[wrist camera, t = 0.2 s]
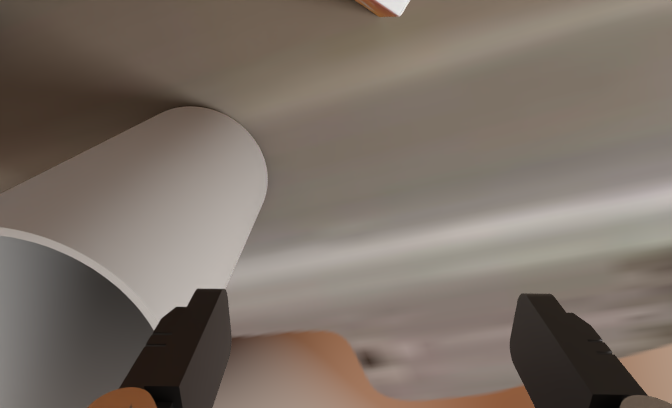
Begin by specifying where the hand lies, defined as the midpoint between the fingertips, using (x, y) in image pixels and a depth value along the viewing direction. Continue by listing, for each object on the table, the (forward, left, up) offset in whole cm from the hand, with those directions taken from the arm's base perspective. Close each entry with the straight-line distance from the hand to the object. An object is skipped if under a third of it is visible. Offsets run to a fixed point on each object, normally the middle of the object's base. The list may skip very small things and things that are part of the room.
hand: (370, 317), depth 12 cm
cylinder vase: (+6, -14, -29) cm, 33 cm away
